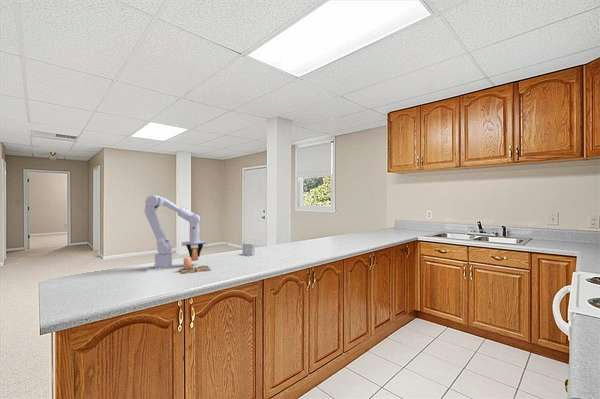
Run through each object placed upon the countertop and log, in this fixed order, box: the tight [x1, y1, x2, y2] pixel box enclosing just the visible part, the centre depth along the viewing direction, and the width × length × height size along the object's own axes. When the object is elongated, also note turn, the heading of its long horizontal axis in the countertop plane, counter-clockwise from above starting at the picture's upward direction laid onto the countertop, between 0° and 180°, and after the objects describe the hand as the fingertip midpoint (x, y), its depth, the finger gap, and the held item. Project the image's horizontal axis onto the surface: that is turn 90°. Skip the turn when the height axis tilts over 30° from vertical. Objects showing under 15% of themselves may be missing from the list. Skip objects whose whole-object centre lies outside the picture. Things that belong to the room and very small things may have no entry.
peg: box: [183, 257, 192, 271], centre depth 160 cm, size 4×4×7 cm
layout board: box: [179, 264, 212, 275], centre depth 162 cm, size 16×12×2 cm
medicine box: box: [241, 242, 256, 257], centre depth 206 cm, size 8×4×9 cm, turn 71°
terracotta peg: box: [191, 247, 199, 262], centre depth 172 cm, size 4×4×7 cm
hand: (194, 256), depth 172 cm, fingers closed on terracotta peg, 4 cm apart
